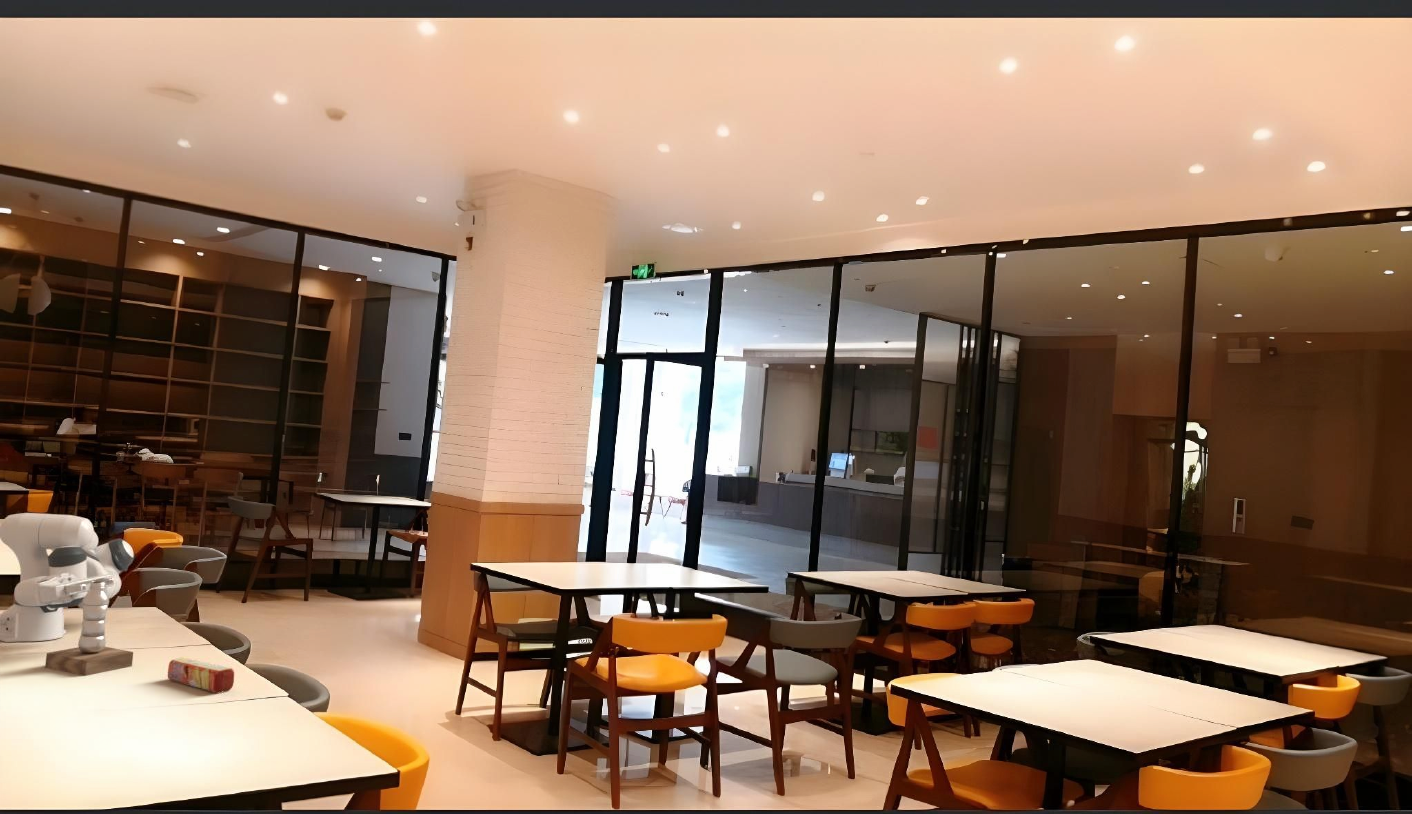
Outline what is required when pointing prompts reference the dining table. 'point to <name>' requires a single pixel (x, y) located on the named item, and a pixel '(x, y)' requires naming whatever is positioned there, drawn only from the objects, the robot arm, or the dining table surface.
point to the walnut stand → (88, 660)
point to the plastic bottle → (94, 618)
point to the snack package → (201, 674)
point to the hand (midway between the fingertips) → (97, 584)
